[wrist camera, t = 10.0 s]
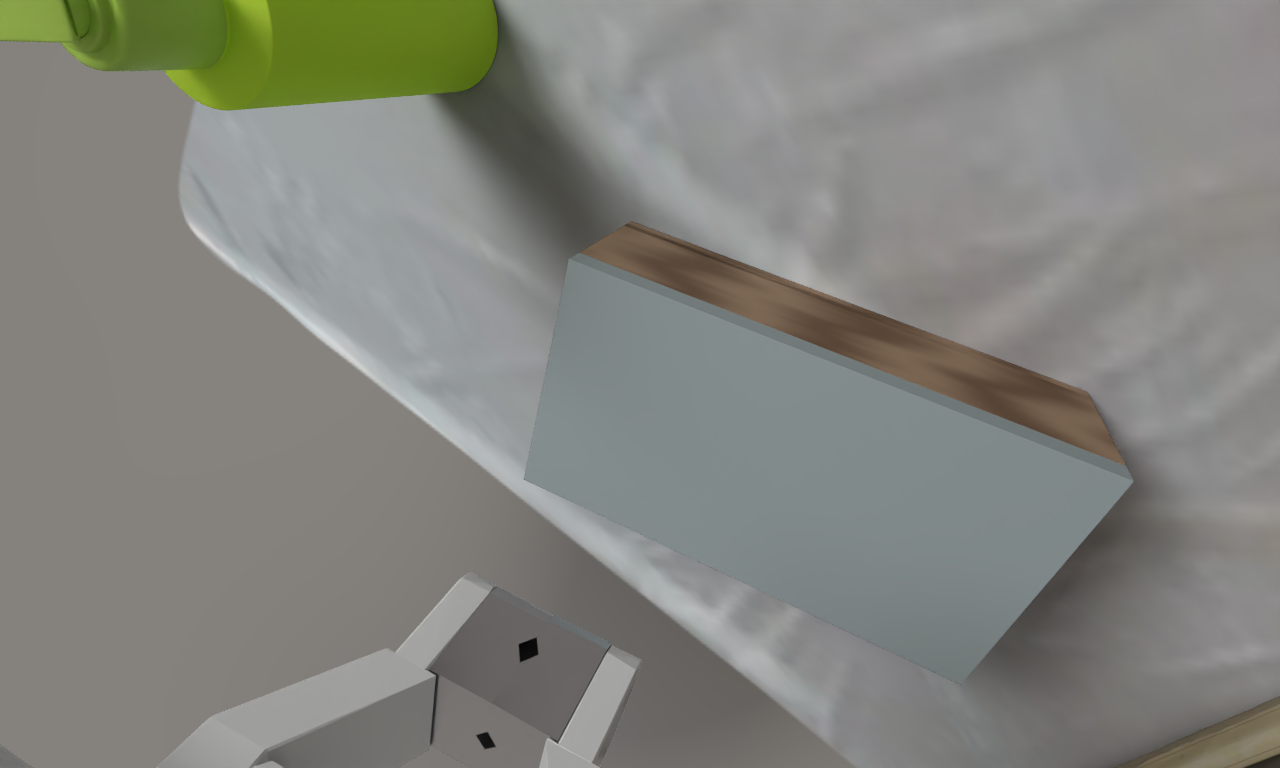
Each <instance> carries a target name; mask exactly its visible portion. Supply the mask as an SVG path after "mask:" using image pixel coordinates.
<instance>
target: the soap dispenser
mask: <svg viewBox="0 0 1280 768" xmlns="http://www.w3.org/2000/svg"><path fill="white" fill-rule="evenodd" d="M0 41H24V42H25V41H26V42H60V43H61V44H62V45H63V46H64V47H65V49H66V50H67V51H68V52H69V53H70V54H71V55H72V56H74V57H75V58H76V59H77V60H79V61H80V62H82V63H83V64H85V65H87V66H89V67H91V68H93V69H96V70H102V71H145V70H146V71H148V70H164V71H165V73H166V74H167V75H168V76H169V77H170V79H171V80H172V81H173V82H174V83H175V84H176V85H177V86H178V87H179V88H180V89H181V90H182V91H184V92H185V93H186V94H187V95H189V96H190V97H192V98H193V99H195V100H196V101H198V102H200V103H201V104H204V105H206V106H208V107H211V108H214V109H219V110H241V109H253V108H265V107H278V106H290V105H302V104H314V103H327V102H339V101H351V100H363V99H376V98H388V97H400V96H413V95H425V94H437V93H449V92H459V91H464V90H467V89H469V88H471V87H473V86H474V85H476V84H477V83H478V82H479V81H481V80H482V78H483V77H484V76H485V75H486V73H487V72H488V70H489V69H490V67H491V65H492V62H493V60H494V57H495V53H496V49H497V43H498V22H497V15H496V11H495V7H494V4H493V1H492V0H0Z"/></svg>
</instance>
